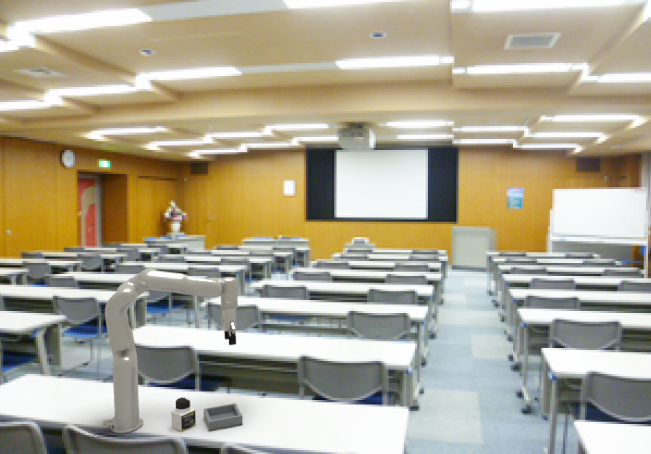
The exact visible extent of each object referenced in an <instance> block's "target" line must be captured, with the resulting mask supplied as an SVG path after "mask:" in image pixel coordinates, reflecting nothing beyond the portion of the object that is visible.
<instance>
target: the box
mask: <svg viewBox="0 0 651 454" xmlns="http://www.w3.org/2000/svg"><path fill="white" fill-rule="evenodd" d="M203 419H204V423H205V424H206V428H207V430H208V432H209V433H210V432H214V431H219V430H223V429H229V428H235V427H240V426H243V414H242V412H241V411H240V409H239V407H238V405H237V403H236V402H234V403H230V404H223V405H218V406H213V407H207V408H203Z"/></svg>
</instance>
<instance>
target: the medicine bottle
mask: <svg viewBox="0 0 651 454" xmlns="http://www.w3.org/2000/svg"><path fill="white" fill-rule="evenodd" d="M191 405H192V402H191V398H190V397H188V396H182V397H179V398H176V400H175V409H173V410H171V428H172V429H175V430H177V431H179V432H186V431H187V430H189V429H192V428H194V427H196V425H197V423H196V422H197V421H196V420H197V418H196V409H195V408H193V407H192V406H191Z"/></svg>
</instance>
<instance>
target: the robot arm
mask: <svg viewBox="0 0 651 454" xmlns="http://www.w3.org/2000/svg"><path fill="white" fill-rule="evenodd" d="M149 290H150V291H155V292H157V291H158V292H167V293H176V294H181V295H187V296H193V297H194V296H195V297H201V298H211V299H212V298H214V299H215V298H217V297H219V296H220V309H221V310H222V311H221V313H222V314H221V326H222V329H223V330H224V331H223V332H224V340H226V341H227V340H228V345H229V346H235V345H237V333H236V330H237V309H238V307H239V305H238V304H239V303H238V300H239V299H238V298H239V297H238V279H237V278H236V277H233V276H227V277H208V278H205V279H202V278H196V277H192V276H189V275H187V274H184V273H180V272H171V271H164V270H157V269H155V268H154V267H148V268H147V267H146V268H145V269H143V270H142V271H140V272H139V273H137V274H135V275H134V276H132V277H131V278H129V279H128V280H126V281H124V282H123V283H121V284H119V286H118V288H117V289H116V292H115V293H113V294H112V295H111V297H110V298H109V299H108V300H107V302H106V304H105V308H104V317H105V323H106V329H107V330H106V331H107V336H108V337H107V339H108V340H107V341H108V345H109V347H111V353H112V358H113V359H112V360H113V361H112V367H111V369H112V370H111V371H112V382H113V404H114V405H113V406H114V407H113V408H114V416H113V417H111V419H104V420H102V421H103V422H102V423H103V426H105V427H110V431H111V432H113V433H115V434H127V433H131V432H135V431H137V430H139V429H141V428H142V427H143V425H144V420H143V418H141V417H140V404H139V403H140V400H139V380H138V379H139V374H138V371H139V370H138V369H139V368H138V364H139V363H138V354H137V349H136V343H135V338H134V332H133V330H132V329H133V328H131V327H130V323H129V317H128V315H129V314H128V310H129V308H130V307H131V306H132V305H133V304H135V302H136V301H137V299H138V297H140V296H141V295H143V294H144V293H146V292H147V291H149ZM134 430H135V431H134Z"/></svg>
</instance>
